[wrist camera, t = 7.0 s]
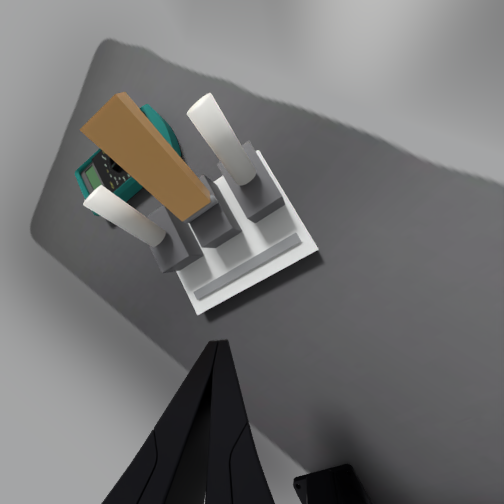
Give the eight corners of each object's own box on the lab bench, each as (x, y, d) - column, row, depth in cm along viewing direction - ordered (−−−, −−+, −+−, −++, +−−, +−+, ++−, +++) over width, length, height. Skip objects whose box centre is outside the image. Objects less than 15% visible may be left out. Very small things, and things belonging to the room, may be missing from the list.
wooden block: (218, 207, 17) (117, 91, 11) (187, 229, 18) (77, 131, 12) (217, 197, 18) (127, 89, 12) (188, 217, 19) (90, 125, 13)
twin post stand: (317, 249, 20) (332, 246, 10) (204, 311, 23) (126, 357, 13) (258, 151, 22) (217, 59, 11) (160, 221, 25) (60, 200, 15)
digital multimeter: (188, 155, 24) (173, 142, 22) (110, 220, 28) (88, 216, 25) (163, 112, 26) (145, 94, 23) (91, 179, 29) (67, 171, 26)
